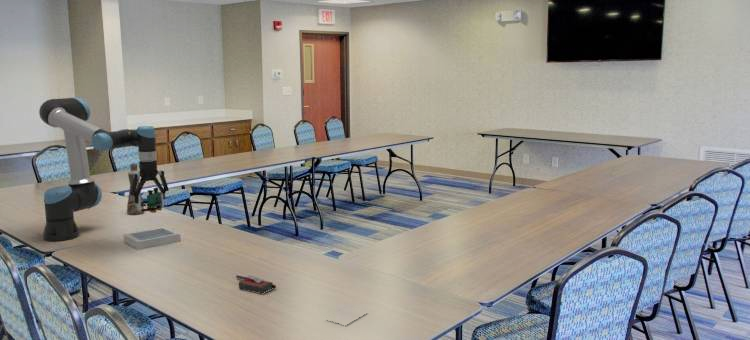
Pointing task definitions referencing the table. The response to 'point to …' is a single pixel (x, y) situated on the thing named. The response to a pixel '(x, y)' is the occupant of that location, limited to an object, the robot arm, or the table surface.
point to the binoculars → (152, 201)
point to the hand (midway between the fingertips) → (150, 208)
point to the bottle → (131, 200)
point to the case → (151, 237)
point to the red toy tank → (255, 284)
